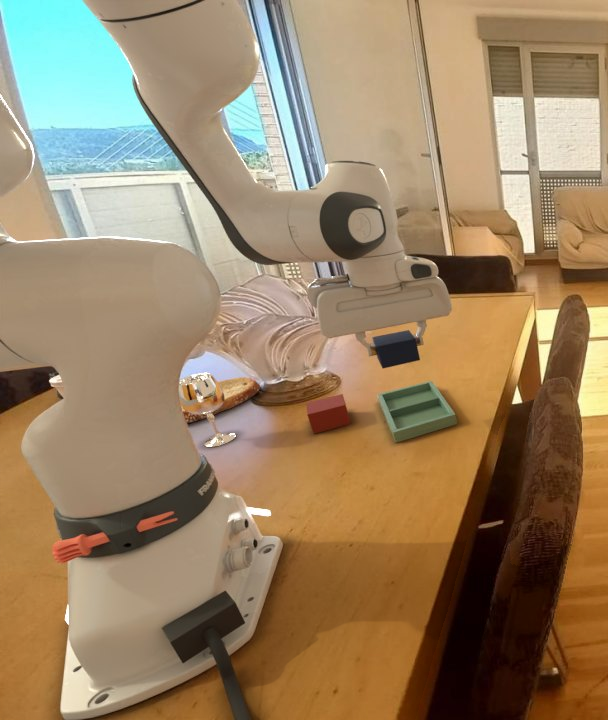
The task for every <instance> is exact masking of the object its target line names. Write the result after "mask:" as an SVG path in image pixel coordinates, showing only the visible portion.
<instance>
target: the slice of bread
mask: <svg viewBox="0 0 608 720" xmlns="http://www.w3.org/2000/svg"><path fill="white" fill-rule="evenodd" d="M217 382H218V383H219V385H220V386H221V388H222V390H223V392H224V398H225V399H224V403H223V404H222V406H221V407H220V408H218V409H217V410H215V411H213V412H211V414H213V415H214V416H215V415H216V414H219V413H221V412H223V411H227V410H229V409H232V408H234V407H237V406H239V405H240V404H242V403H244V402H247V401H248V400H249V399H252V398H253V397H254V396H255V395H256V394H257V393H258V392H260V389H261V385H260V384H259V383H258V382H257V381H256V380H255V379H253V378H251V377H245V376H244V377H243V376H241V377H240V376H239V377H235V378H229V379H224V380H220V381H217ZM181 408H182V411H183V414H184V417H185V420H186V422H187V424H191V423H195V422H197V421H201V420H204V419H207V414H191V413H189V412H187V411H185V410H184V409H183V407H182V406H181Z"/></svg>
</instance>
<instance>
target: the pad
mask: <svg viewBox="0 0 608 720" xmlns="http://www.w3.org/2000/svg"><path fill="white" fill-rule="evenodd" d="M413 335H414V334H412V332H411V331H410V330H409V329H405V330H402V331H397V332H392V333H387V334H381V335H375V336H372V338H371V339H372V343H375V345H376V348H377V352H378V355H376V359H377V360H378V362H379V364H380V367H381V368H382V369H387V368H392V367H396V366H401V365H405V364H411V363H413V362H418V361H420V360H421V357H420V353H419V347H418V346H417V343H416V339H415V337H414V336H413Z"/></svg>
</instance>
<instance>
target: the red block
mask: <svg viewBox="0 0 608 720" xmlns="http://www.w3.org/2000/svg"><path fill="white" fill-rule="evenodd" d="M305 407H306V415H307V418H308V421H309V424H310V428H311V430H312V433H313V434H314V435H315V434H318V433H319V434H320V433H322V432H326V431H329V430H333V429H336V428H340V427H344V426H348V425H351V424H352V423H351V418H350V414H349V411H348V408H347V405H346V401H345V398H344V394H343V393H341V394H337V395H332V396H329V397H325V398H320V399H317V400H312V401H307V402H306V403H305Z"/></svg>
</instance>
